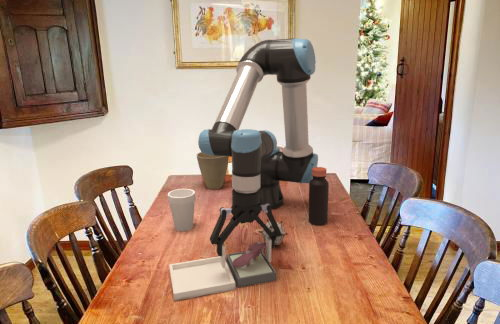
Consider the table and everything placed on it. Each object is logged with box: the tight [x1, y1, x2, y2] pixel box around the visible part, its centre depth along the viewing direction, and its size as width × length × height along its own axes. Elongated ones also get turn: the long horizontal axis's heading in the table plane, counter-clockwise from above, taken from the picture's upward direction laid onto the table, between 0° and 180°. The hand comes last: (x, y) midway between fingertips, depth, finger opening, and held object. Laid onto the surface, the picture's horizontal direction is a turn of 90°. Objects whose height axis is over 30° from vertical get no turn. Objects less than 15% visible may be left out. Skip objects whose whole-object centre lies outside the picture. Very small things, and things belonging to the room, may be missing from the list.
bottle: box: [308, 166, 330, 226], centre depth 134 cm, size 7×7×20 cm
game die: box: [258, 218, 288, 248], centre depth 120 cm, size 9×8×10 cm
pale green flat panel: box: [230, 253, 272, 278], centre depth 105 cm, size 9×12×1 cm
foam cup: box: [167, 188, 196, 232], centre depth 132 cm, size 10×9×13 cm
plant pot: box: [196, 151, 230, 190], centre depth 175 cm, size 15×15×16 cm
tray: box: [168, 255, 237, 302], centre depth 102 cm, size 16×15×2 cm
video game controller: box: [233, 240, 266, 268], centre depth 105 cm, size 10×5×7 cm, turn 149°
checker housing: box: [225, 250, 277, 289], centre depth 105 cm, size 11×14×2 cm
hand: (246, 262), depth 104 cm, fingers open, 12 cm apart
